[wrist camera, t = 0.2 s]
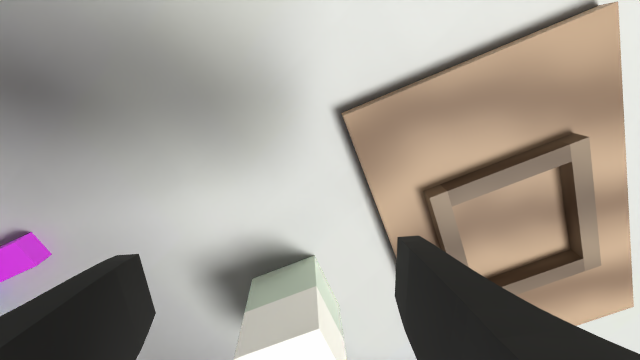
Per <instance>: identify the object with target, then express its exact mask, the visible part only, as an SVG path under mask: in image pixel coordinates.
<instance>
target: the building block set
mask: <svg viewBox="0 0 640 360" xmlns="http://www.w3.org/2000/svg"><path fill="white" fill-rule="evenodd" d="M50 255H52V254H51V253H50V252H49V251H48V250H47V249H46V248H45V246H44V245H43V244H42V243H41V242H40V241H39V240H38V239H37V238H36V236H35V235H34V234H33V233H32V232H30V233H28V234H26V235H24V236H22V237H19V238H17V239H15V240H13V241H11V242H9V243H7V244H5V245H2V246H0V282H2V281H4V280H6V279H9V278H11V277H13V276H15V275H17V274H19V273H22V272H24V271H26V270H28V269H30V268H33V267H35V266H37V265H38V264H40V263H41V262H42V261H44V260H45V259H46V258H48V257H49V256H50Z"/></svg>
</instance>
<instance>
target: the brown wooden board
mask: <svg viewBox="0 0 640 360" xmlns="http://www.w3.org/2000/svg"><path fill="white" fill-rule="evenodd" d="M341 114H342V117H343V119H344V122H345V124H346V127H347V130H348V132H349V135H350V138H351V140H352V143H353V146H354V148H355V151H356V154H357V156H358V159H359V161H360V164H361V167H362V169H363V172H364V175H365V177H366V180H367V183H368V185H369V188H370V190H371V193H372V196H373V198H374V201H375V204H376V206H377V209H378V212H379V214H380V217H381V220H382V222H383V225H384V227H385V230H386V233H387V235H388V238H389V241H390V243H391V246H392V249H393V251H394V254H395V257H396V259H397V237H404V236H421V237H422V238H424V239H426V240H428V241H429V242H431V243H432V244H434V245H435V246H437V247H438V248H440V249H441V250H443V251H445V252H446V253H448V254H449V255H451V256H452V257H454V258H455V259H457V260H458V261H460V262H461V263H463V264H464V265H466V266H468V267H469V268H471V269H472V270H474V271H475V272H477V273H479V274H480V275H482V276H484V277H485V278H487V279H489V280H490V281H492V282H494V283H495V284H497V285H499V286H500V287H502V288H504V289H506V290H507V291H509V292H511V293H513V294H514V295H516V296H518V297H520V298H522V299H523V300H525V301H527V302H529V303H531V304H533V305H535V306H536V307H538V308H540V309H542V310H544V311H546V312H548V313H550V314H552V315H554V316H556V317H558V318H560V319H562V320H564V321H567V322H569V323H571V324H573V325H575V326H577V325H580V324H583V323H586V322H589V321H592V320H595V319H598V318H601V317H604V316H607V315H610V314H613V313H616V312H619V311H622V310H625V309H628V308H631V307H634V304H633V285H632V265H631V246H630V226H629V207H628V187H627V167H626V148H625V128H624V109H623V89H622V70H621V50H620V31H619V11H618V2H614V3H608V4H603V5H599V6H596V7H594V8H592V9H589V10H587V11H585V12H582V13H580V14H577V15H575V16H573V17H570V18H568V19H565V20H563V21H561V22H558V23H556V24H553V25H551V26H549V27H546V28H544V29H541V30H539V31H537V32H534V33H532V34H529V35H527V36H525V37H522V38H520V39H517V40H515V41H513V42H510V43H508V44H505V45H503V46H501V47H498V48H496V49H493V50H491V51H489V52H486V53H484V54H481V55H479V56H477V57H474V58H472V59H470V60H467V61H465V62H462V63H460V64H458V65H455V66H453V67H450V68H448V69H446V70H443V71H441V72H438V73H436V74H434V75H431V76H429V77H426V78H424V79H422V80H419V81H417V82H414V83H412V84H410V85H407V86H405V87H402V88H400V89H398V90H395V91H393V92H390V93H388V94H386V95H383V96H381V97H378V98H376V99H374V100H371V101H369V102H366V103H364V104H362V105H359V106H357V107H354V108H352V109H350V110H347V111H345V112H343V113H341Z"/></svg>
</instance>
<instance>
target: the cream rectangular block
mask: <svg viewBox="0 0 640 360" xmlns="http://www.w3.org/2000/svg"><path fill="white" fill-rule="evenodd" d="M234 360H347V356H346V349H345V343H344V336H343V329H342V323H341V316H340V309H339V304H338V302H337V300H336V298H335V296H334V294H333V292H332V290H331V288H330V286H329V284H328V282H327V280H326V278H325V276H324V274H323V272H322V270H321V268H320V266H319V263H318V261H317V259H316V257H315V255H314V256H311V257H309V258H306V259H303V260H301V261H298V262H296V263H293V264H290V265H288V266H285V267H282V268H280V269H277V270H274V271H272V272H269V273H266V274H264V275H261V276H258V277H256V278H253V279H252V283H251V287H250V291H249V296H248V300H247V304H246V309H245V313H244V317H243V321H242V326H241V330H240V334H239V338H238V343H237V347H236V351H235V356H234Z"/></svg>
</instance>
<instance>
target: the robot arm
mask: <svg viewBox="0 0 640 360" xmlns="http://www.w3.org/2000/svg"><path fill="white" fill-rule="evenodd" d="M395 298H396V302H397V305H398V309H399V313H400V316H401V319H402V323H403V326H404V329H405V332H406V334H407V337H408V339H409V342H410V344H411V346H412V349H413V351H414V353H415V356H416V358H417V360H640V354H638V353H636V352H633V351H631V350H629V349H626V348H624V347H622V346H619V345H617V344H614V343H612V342H610V341H607V340H605V339H603V338H601V337H598V336H596V335H594V334H592V333H590V332H587V331H585V330H583V329H581V328H579V327H577V326H575V325H573V324H571V323H569V322H567V321H564V320H562V319H560V318H558V317H556V316H554V315H552V314H550V313H548V312H546V311H544V310H542V309H540V308H538V307H536V306H535V305H533V304H531V303H529V302H527V301H525V300H523V299H522V298H520V297H518V296H516V295H514V294H513V293H511V292H509V291H507V290H506V289H504V288H502V287H500V286H499V285H497V284H495V283H494V282H492V281H490V280H489V279H487V278H485V277H484V276H482V275H480V274H479V273H477V272H475V271H474V270H472V269H471V268H469V267H468V266H466V265H464V264H463V263H461V262H460V261H458V260H457V259H455V258H454V257H452V256H451V255H449V254H448V253H446V252H445V251H443V250H441V249H440V248H438V247H437V246H435V245H434V244H432V243H431V242H429V241H428V240H426V239H424V238H422V237H421V236H404V237H397V259H396V282H395ZM155 314H156V313H155V309H154V306H153V302H152V299H151V295H150V292H149V288H148V285H147V281H146V278H145V274H144V271H143V267H142V264H141V260H140V257H139V254H132V255H117V256H114V257H112V258H109V259H107V260H105V261H103V262H101V263H99V264H97V265H95V266H93V267H91V268H89V269H87V270H85V271H83V272H82V273H80V274H78V275H76V276H74V277H72V278H71V279H69V280H67V281H65V282H63V283H61V284H60V285H58V286H56V287H54V288H52V289H51V290H49V291H47V292H45V293H43V294H41V295H40V296H38V297H36V298H34V299H32V300H31V301H29V302H27V303H25V304H23V305H21V306H19V307H18V308H16V309H14V310H12V311H10V312H8V313H6V314H4V315H2V316H0V360H136V358H137V356H138V354H139V353H140V351H141V349H142V346H143V344H144V341H145V339H146V337H147V334H148V332H149V329H150V327H151V324H152V321H153V319H154V316H155Z"/></svg>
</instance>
